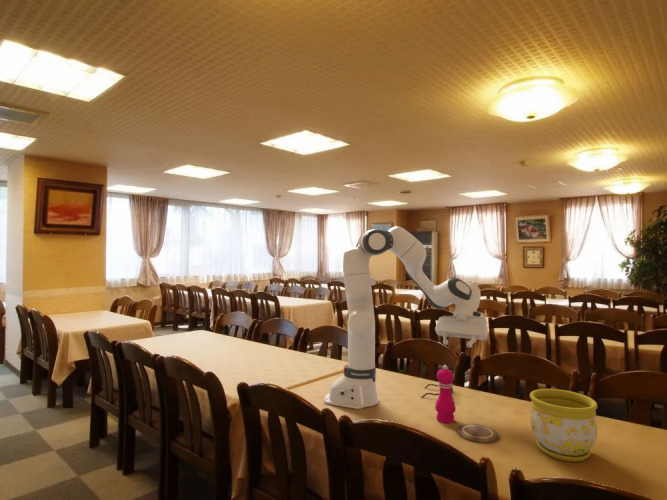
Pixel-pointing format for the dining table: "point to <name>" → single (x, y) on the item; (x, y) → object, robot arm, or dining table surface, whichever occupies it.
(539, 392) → the flowerpot
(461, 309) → the robot arm
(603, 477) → the dining table surface
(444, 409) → the pepper mill
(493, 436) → the coaster
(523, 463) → the dining table surface
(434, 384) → the glasses
